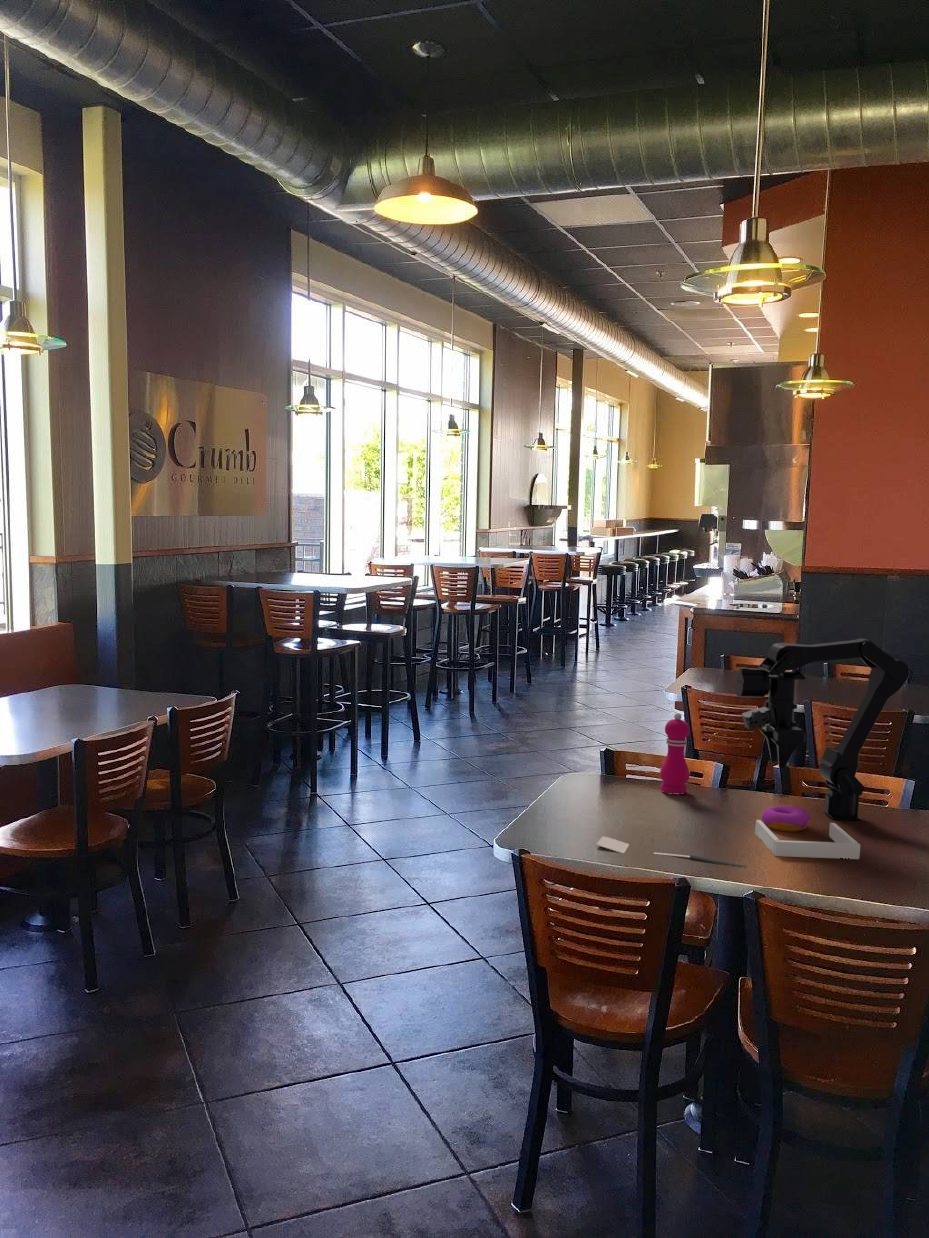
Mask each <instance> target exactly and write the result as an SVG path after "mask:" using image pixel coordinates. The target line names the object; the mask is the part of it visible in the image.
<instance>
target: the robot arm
mask: <svg viewBox="0 0 929 1238" xmlns="http://www.w3.org/2000/svg"><path fill="white" fill-rule="evenodd" d="M767 653H768V654H767V655H766V657H765V658H764V659H763V660H762V662H761V663H760V664H759V665H758V667H757V668H751V667H750V668H748V667H744V666H743V667H740V666H739V668H738V669H739V670H738V673H737V675H736V677H735V678H736V679H735V680H734V690H735V694H736V697H737V698H759V699H760V698H761V699H762V698H764V697H766V695H768V699H765V701H764V703H763V706H762V707H757V708H755V709H752V710H751V709H750V710H748V711H745V712H743V713H741V718H742V720H743V723H744V727H745V728H747V730H750V731H752V730H753V731H754V730H756V729H757V728H758V730H759V732H760V733H762V735H764V737H765V739H766V743H767V746H768V747H767V748H768V751H769V757H770V761H771V762H774V763H775V762H777V763H778V768H780V769H784V768H785V767H786V765H787V763H788V762H789V760H790V758H791V756H792V755H793V753H794V752H795V750H796V748H797V747H798V746H799V744H805V743H806V742H807V741H806V740H807V734H806V733H805V731H804V730H803V729H802V728H800V727H798V726H797V722H796V721H794V714H795V710H798V704H796V703H795V699H796V682H797V680H798V681H799V680H800V681H804V680H806V676H805V675H804V674H803V673H802V671H800V669H801V668H804V667H806V666H808V665H810V664H813V663H819V662H828V661H829V662H830V661H836V660H837V661H838V660H846V659H854V658H855V659H856V658H860V659H861V661H862V662H863V663H864V664H865V665H866V666H868V668H870V672H869V675H868V680H867V681H868V684H867V685H868V686H867V691H866V692H865V695H864V696H863V697H862V700H861V702H860V704H859V705H858V707H857V710H856V711H855V714H854V715H853V717H852V719H851V721H850V722H849V725H848V726H847V729H846V730H845V732H844V734H843V736H842V738H841V740H840V741H839V743H838V744H837V745H836V746H834V747H833V748H832V747H830V746H826V748H825V749H824V752H823V754H822V756H821V757H820V759H818V762H819V766H818V771H819V774H820V776H821V777H822V778H823V779H824V780H825V785H826V786H827V787H828V788H827V794H825V795H824V809H823V812H824V814H826V815H827V816H829V817H830V818H831V819H833V820H845V821H846V820H848V821H861V820H862V818H861V817H860V816H859V807H860V805H859V804H860V796H862V795H863V792H864V790H865V786H864V785H863V784H862V783H861V781H859V779H858V778H857V777H856V775H857V771H858V769H859V759H860V757H859V756H860V752H861V750H862V749H863V747H864V745H865V743H866V741H867V739H868V737H869V736H870V733H871V732H872V730H873V728H874V726H875V725H876V722H877V720H878V719H879V717H880V716H881V715H880V714H881V713H882V711H883V709H885V708H884V707H885V705H886V704H887V701H889V699H890V698H892V697H893V696H894V695H895V694H896V693H897V692H899V691H900V690H901V689H902V688H903V686H904V685H905V683H907V682H908V680H909V677H910V669H909V667H908V665H907V664H906V663H905V662H904V661H901V660H900V659H896V658H894V657H892V656H891V655H890V654H889V653H887V652H885V651H884V650H883V649H881V648H880V647H879V646H878V645H876V644H875V642H873V641H872V640H869V639H866V638H857V639H851V640H850V639H849V640H842V641H841V640H840V641H834V642H824V643H814V644H803V643H802V644H801V643H795V642H794V643H792V642H777V643H776V642H775V643H773V644H772V646H771V647H770V648H769V650H768V652H767Z"/></svg>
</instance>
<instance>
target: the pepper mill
mask: <svg viewBox="0 0 929 1238" xmlns="http://www.w3.org/2000/svg"><path fill="white" fill-rule="evenodd" d="M673 717H674V718H673V719H670V720H669V721H667V722H666V724H665V727H664V733H665V735H666V736H667V737H666V738H665V740H666V745H667V753H666V757H665V759H664V761H663V764H662V765H661V767H660V771H659V777H660V778H661V780H662V781H663V782H662V783H661V784H660V785H661V787H660V790H662V791H664V792H666V793H672V794H673V793H679V794H681V793H685V792H686V791H687V790H688V787H687V785H686V783H687V782H688V781H689V780H690V771H689V767H688V765H687V762H686V758H685V748H686V746H687V741H688V740H687V737H688V736H689V734H690V726H689V724H688V722H687V721H685V720H683V719H682V714H681V713H679V712H678V713H675V714H674V715H673ZM662 791H661V792H662ZM666 793H665V794H666Z"/></svg>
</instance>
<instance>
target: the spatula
mask: <svg viewBox="0 0 929 1238" xmlns="http://www.w3.org/2000/svg"><path fill="white" fill-rule="evenodd" d="M596 846H599V847H602V848H604V849H607V850H610V851H614V852H617V853H621V854H625V853H626V851H627V849H628V848H629V846H630V843H627V842H623V841H620V840H618V839H614V838H612V837H609V836H603V835H602V837H600V839H599V840H598V841H597V843H596ZM653 854H654V855H661V856H668V857H669V856H670V857H680V858H689V860H690V859H691V860H694V861H699V862H703V861H704V863H709V862H711V863H710V864H715V863H717V864H716V865H721V864H724V865H723V866H727V865H732V866H731V867H734V866H739V867H738V868H740V867H746V868H747V865H743V864H738V863H733V862H728V861H723V860H718V859H713V858H709V857H704V856H698V855H694V854H690V855H683V854H676V853H675V854H673V853H664V852H653ZM718 863H719V864H718Z"/></svg>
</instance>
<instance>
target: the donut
mask: <svg viewBox="0 0 929 1238" xmlns="http://www.w3.org/2000/svg"><path fill="white" fill-rule="evenodd" d="M761 819H762V820H761V821H762V822H763V823H764V824H765V825H766V826H767V828H768V829H770V830H774V829H775V831H779V832H780V831H781V832H793V833H794V832H801V831H804V830H805V829H807V827H808V825H809V821H810V820H811V816H810V813H809V812H808V811H807V810H806V809H805V808H803V807H801V806H796V805H774V806H770V807H767V808H765V810H764V811H763V812H762V814H761Z"/></svg>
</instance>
